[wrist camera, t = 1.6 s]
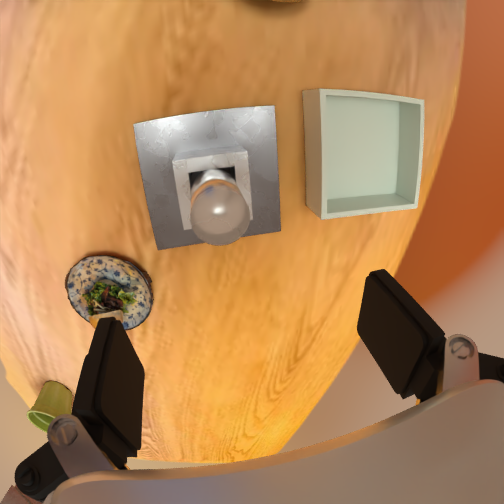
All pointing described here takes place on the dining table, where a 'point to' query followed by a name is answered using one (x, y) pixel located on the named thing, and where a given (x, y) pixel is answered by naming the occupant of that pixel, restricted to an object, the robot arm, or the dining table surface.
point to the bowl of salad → (109, 290)
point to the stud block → (204, 137)
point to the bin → (361, 152)
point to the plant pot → (50, 405)
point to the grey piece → (214, 193)
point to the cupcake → (287, 0)
